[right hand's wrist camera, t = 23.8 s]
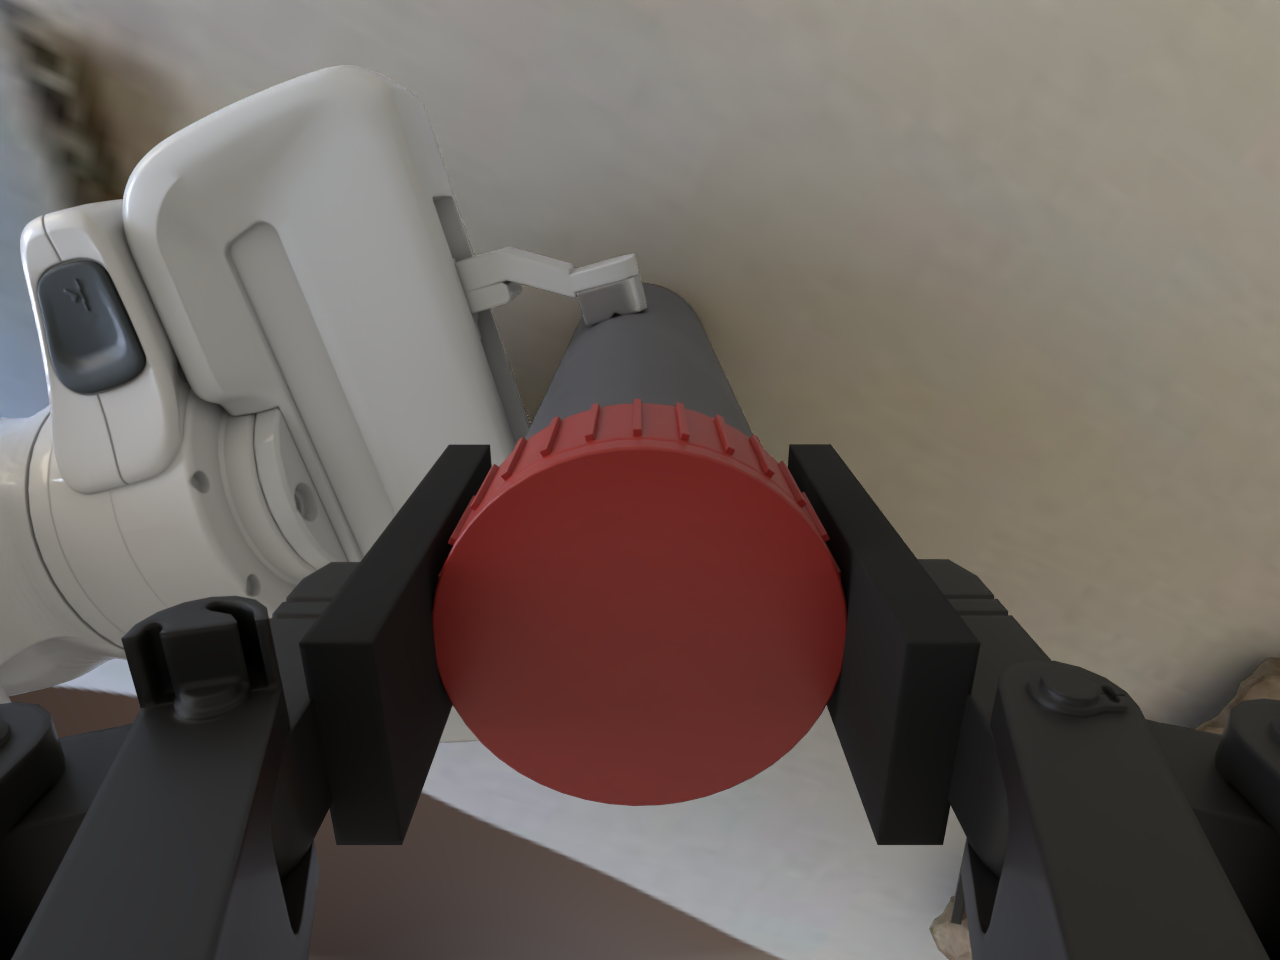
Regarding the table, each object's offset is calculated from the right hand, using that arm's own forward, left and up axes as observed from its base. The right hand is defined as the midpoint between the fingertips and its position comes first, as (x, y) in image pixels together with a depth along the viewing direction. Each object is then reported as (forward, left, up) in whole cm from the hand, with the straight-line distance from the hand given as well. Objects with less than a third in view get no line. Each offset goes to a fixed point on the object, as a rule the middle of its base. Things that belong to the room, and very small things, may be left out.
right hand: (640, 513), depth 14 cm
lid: (0, 0, +4) cm, 4 cm away
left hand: (0, -1, -9) cm, 9 cm away
